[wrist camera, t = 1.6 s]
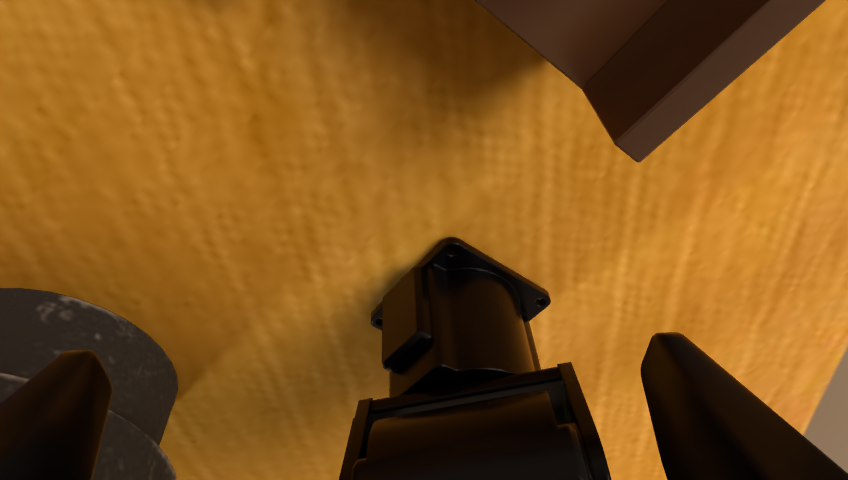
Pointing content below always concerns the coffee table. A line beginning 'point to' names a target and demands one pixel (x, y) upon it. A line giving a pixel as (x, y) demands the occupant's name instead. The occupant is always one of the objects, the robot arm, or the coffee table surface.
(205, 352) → the coffee table surface
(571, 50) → the chair
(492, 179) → the coffee table surface
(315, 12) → the coffee table surface
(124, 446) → the lantern
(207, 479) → the coffee table surface
